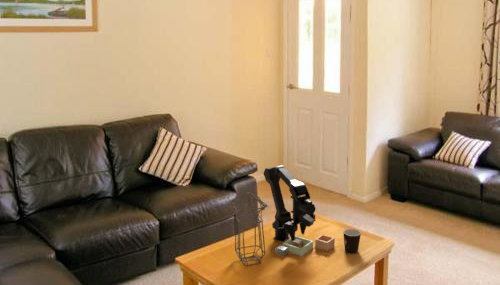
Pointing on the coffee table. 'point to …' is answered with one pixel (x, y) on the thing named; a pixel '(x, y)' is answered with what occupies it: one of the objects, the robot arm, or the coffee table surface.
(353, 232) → the coffee mug
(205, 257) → the coffee table surface
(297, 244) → the walnut block
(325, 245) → the open square box
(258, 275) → the coffee table surface
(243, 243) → the geometric lantern
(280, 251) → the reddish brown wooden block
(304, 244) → the bin
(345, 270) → the coffee table surface
